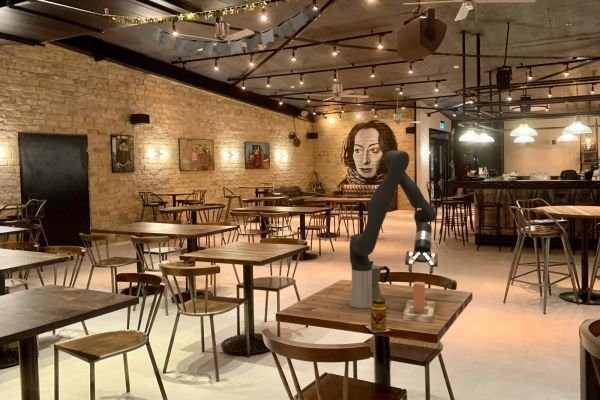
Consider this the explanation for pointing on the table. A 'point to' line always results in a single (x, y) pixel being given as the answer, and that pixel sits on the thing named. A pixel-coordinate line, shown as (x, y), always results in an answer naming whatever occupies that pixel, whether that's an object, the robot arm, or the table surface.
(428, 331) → the table surface
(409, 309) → the puzzle board
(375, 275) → the coffeepot
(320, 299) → the table surface
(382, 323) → the condiment
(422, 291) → the block
